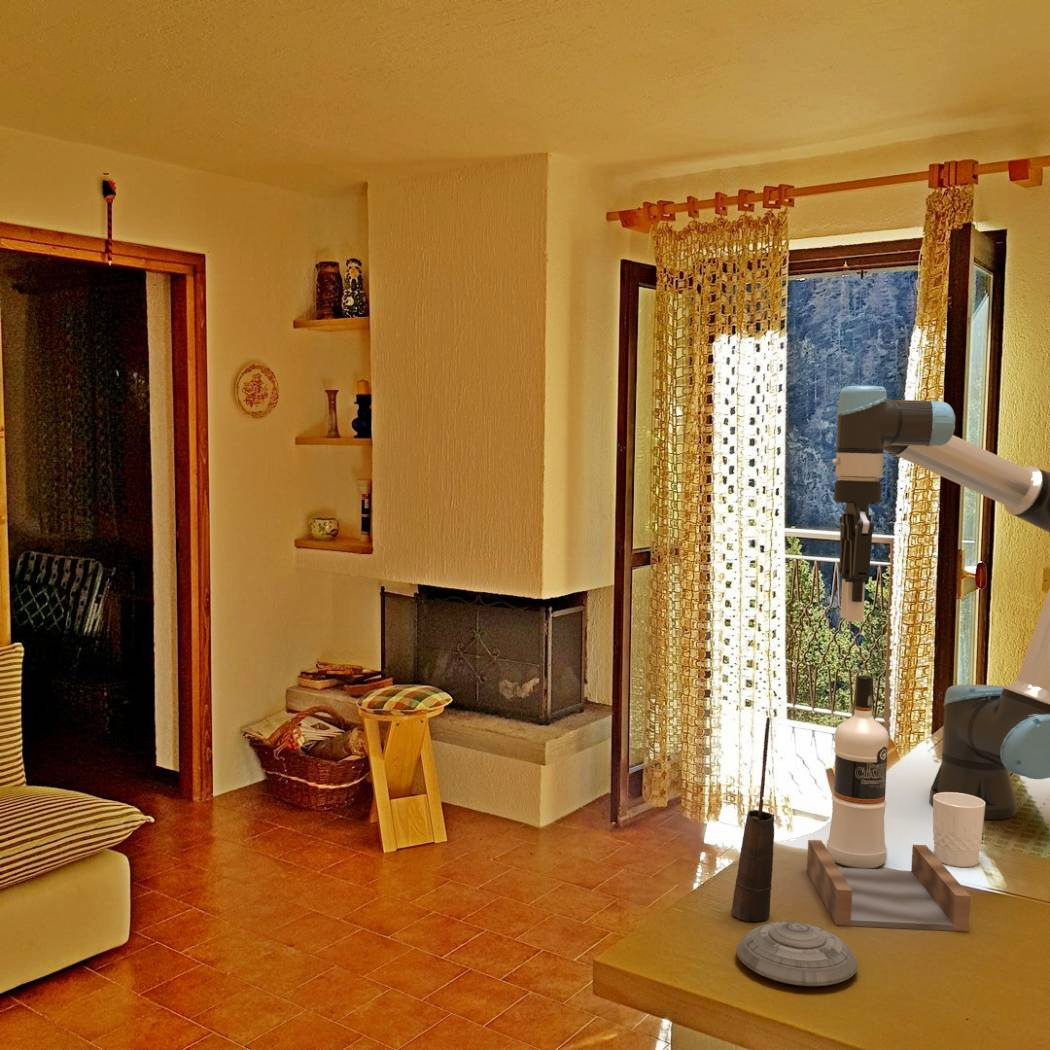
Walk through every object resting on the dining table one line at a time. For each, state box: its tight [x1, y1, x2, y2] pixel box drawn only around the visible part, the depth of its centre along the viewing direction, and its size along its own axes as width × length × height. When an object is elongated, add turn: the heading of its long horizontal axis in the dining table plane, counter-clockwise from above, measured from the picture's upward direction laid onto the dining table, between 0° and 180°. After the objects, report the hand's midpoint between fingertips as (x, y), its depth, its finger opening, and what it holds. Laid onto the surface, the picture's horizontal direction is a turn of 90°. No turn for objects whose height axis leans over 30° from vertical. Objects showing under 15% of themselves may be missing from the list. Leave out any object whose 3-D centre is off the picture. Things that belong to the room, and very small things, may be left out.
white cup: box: [932, 792, 986, 868], centre depth 180 cm, size 8×8×10 cm
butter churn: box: [731, 716, 775, 923], centre depth 155 cm, size 9×10×28 cm
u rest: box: [806, 839, 971, 933], centre depth 163 cm, size 20×18×5 cm
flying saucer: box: [735, 920, 859, 987], centre depth 141 cm, size 15×15×6 cm
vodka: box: [826, 674, 890, 869], centre depth 179 cm, size 9×9×30 cm
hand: (851, 619), depth 187 cm, fingers open, 3 cm apart
